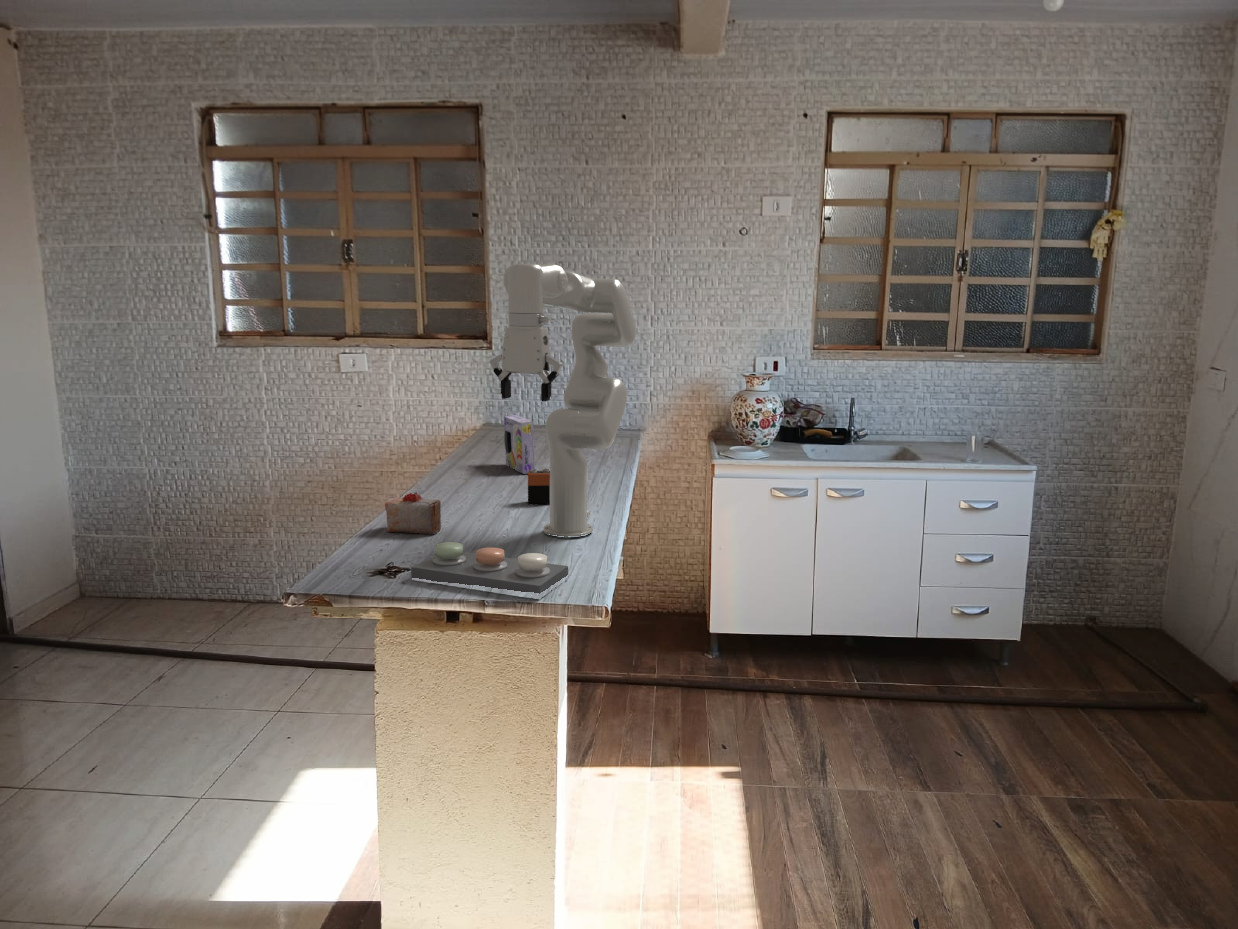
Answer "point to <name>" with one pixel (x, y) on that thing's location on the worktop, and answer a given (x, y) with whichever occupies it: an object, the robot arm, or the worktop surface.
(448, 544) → the button green
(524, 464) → the cake pan box
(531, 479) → the battery
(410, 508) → the food item
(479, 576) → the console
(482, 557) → the button terracotta
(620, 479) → the worktop surface
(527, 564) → the button white
